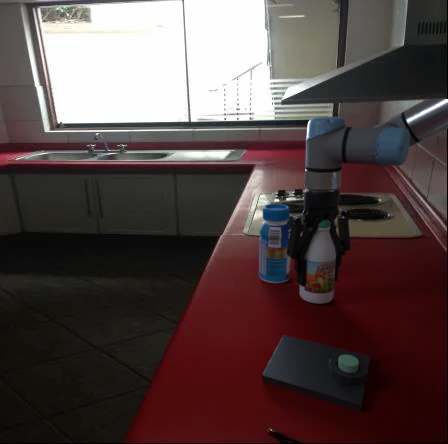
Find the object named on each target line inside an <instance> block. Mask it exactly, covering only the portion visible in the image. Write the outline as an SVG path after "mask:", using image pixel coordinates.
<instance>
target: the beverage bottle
mask: <svg viewBox="0 0 448 444" xmlns="http://www.w3.org/2000/svg"><path fill="white" fill-rule="evenodd" d="M290 219H291V207H290V206H288V205H286V204H284V203H269V204H265V205H264V206H263V207H262V220H263V223H262V224H261V226H260V228H259V235H260V236H259V238H258V247H259V248H258V249H259V250H258V252H259V253H258V277H259V279H260V280H261V281H263V282H266V283H269V284H283V283H286V282H288V281H289V280H290V278H291V260H292V258H291V257H289V256H288V255H287V248H288V243H289V237H290V232H291V225H290V223H289V220H290Z"/></svg>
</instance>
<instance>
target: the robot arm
mask: <svg viewBox="0 0 448 444" xmlns="http://www.w3.org/2000/svg"><path fill="white" fill-rule="evenodd" d="M445 130H448V99H427V98H425V99H424V100H422V101H420V102H418V103H416V104H414V105H412V106H411V107H408V108H407V109H405V110H404V111H402V112H400V113H398V114H396V115H394V116H392V117H390V118H388V119H386V120H384V121H382V122H380V123H378V124H377V125H373V126H366V127H365V126H361V127H360V126H358V127H354V126H346V120H345V118H344V117H341V116H322V117H313V118H311V119H310V120H309V121H308V123H307V127H306V138H305V168H304V169H305V170H304V188H305V189H304V190H303V191H304V192H303V206H304V209H303V211H302V213H301V214H299V215H296V214H292V215H290V222H291V223H290V224H291V225H290V227H291V232H290V237H289V243H288V248H287V255H288V256H289V257H291V260H293V262H294V263H293V270H294V271H295V272H296V282H295V283H297V284H298V285H299V286H300V285H301V286H302V287H303V286H305V283H306V262H307V261H306V260H305V259H304V256H305V254H306V252H307V249H308V247H309V245H310V242H311V240H312V238H313V235H314V234H316V232H317V230H318V224H320V223H321V222H322V220H325V219H327V220H329V221H330V222H331V225H330V229H329V232H330V237H331V239H332V242H333V244H334V247H335V251H336V264H335V280H334V282H337V281H339V280H338V279H339V267H342V261H343V260H342V259H343V257H344V256H345V255H346V252H350V251H351V238H350V237H351V236H350V224H349V221H350V217H351V212H350V211H349V210H347V209H345V208H340V209H339V205H340V201H341V200H340V198H341V190H340V188H341V185H342V169H343V164H351V165H352V164H353V165H368V166H381V167H388V166H391V167H393V166H394V167H395V166H397V167H398V166H399V167H400V166H402V165H404V164H405V163H406V161H407V158H408V155H409V152H410V147H412V146H414V145H416V144H418V143H421V142H422V141H424V140H427V139H428V138H430V137H433V136H435V135H437V134H439V133H441V132H444V131H445ZM336 219H337V225H336V223H335V221H336ZM304 221H305V223H304ZM309 226H310V227H311V228H312V229H311V228H310V227H309ZM337 230H338V232H337Z"/></svg>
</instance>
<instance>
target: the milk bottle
mask: <svg viewBox="0 0 448 444" xmlns="http://www.w3.org/2000/svg"><path fill="white" fill-rule="evenodd" d="M330 225H331V222H330V221H329V220H327V219H325V220H322V222H321V223H320V224H318V230H317V232H316V234H314V235H313V238H312V240H311V242H310V245H309V247H308V249H307V252H306V254H305V256H304V259H305V260H306V261H307V262H306V283H305V286H303V287H302V286H301V285H300V284H299V297H300V298H301V299H302V300H303V301H306V302H308V303H311V304H317V305H318V304H320V305H321V304H327V303H330V302H332V300H333V299H334V292H335V281H334V280H335V264H336V251H335V247H334V244H333V242H332V239H331V237H330V232H329V229H330ZM309 227H310V226H309ZM310 228H311V227H310ZM311 229H312V228H311Z"/></svg>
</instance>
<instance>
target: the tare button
mask: <svg viewBox="0 0 448 444" xmlns="http://www.w3.org/2000/svg"><path fill="white" fill-rule="evenodd" d="M338 367H339V369H341V370H342V371H344V372H348V373H356V372H357V371H358V367H359V361H358V359H357V358H355V357H354V356H351V355H341V356H340V357H339V361H338Z"/></svg>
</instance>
